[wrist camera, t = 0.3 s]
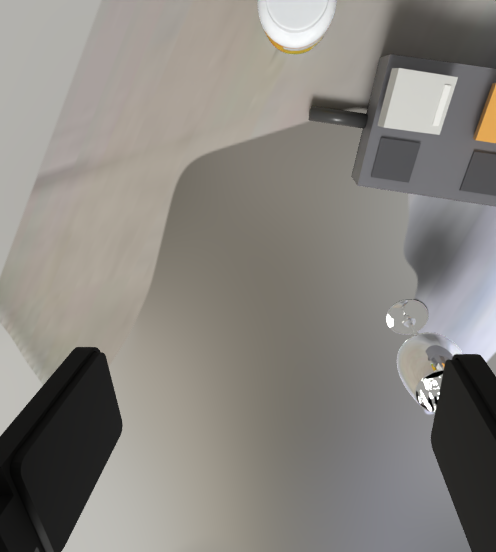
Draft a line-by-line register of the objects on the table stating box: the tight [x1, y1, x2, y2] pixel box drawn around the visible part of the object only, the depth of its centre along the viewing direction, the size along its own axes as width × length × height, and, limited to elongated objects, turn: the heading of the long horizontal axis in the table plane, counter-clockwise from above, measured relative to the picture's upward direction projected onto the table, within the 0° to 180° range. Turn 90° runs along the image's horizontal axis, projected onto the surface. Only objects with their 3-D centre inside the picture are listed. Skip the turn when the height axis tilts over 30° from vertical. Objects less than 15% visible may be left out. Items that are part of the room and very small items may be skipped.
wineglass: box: [386, 299, 463, 413], centre depth 38 cm, size 6×6×12 cm
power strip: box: [309, 54, 496, 206], centre depth 33 cm, size 10×25×4 cm, turn 83°
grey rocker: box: [377, 68, 458, 135], centre depth 30 cm, size 4×5×1 cm
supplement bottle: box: [258, 0, 337, 54], centre depth 29 cm, size 5×5×10 cm
